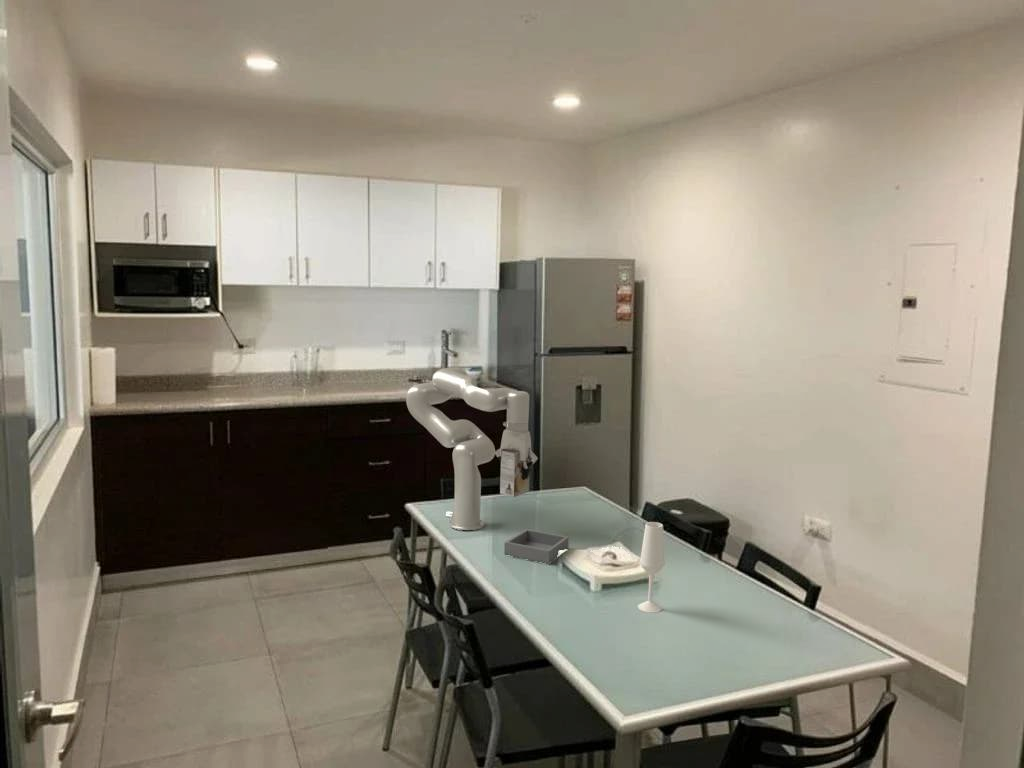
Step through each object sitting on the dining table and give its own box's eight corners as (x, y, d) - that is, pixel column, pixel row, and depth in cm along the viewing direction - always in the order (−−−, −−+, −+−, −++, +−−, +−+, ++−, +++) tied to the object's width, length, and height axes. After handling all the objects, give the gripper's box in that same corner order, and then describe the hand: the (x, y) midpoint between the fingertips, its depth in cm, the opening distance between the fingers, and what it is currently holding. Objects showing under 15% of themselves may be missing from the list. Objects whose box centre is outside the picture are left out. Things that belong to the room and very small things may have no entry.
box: (504, 555, 254) (504, 542, 253) (525, 541, 268) (526, 529, 267) (548, 564, 246) (549, 551, 246) (568, 549, 261) (568, 537, 260)
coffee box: (515, 488, 274) (516, 444, 272) (529, 492, 271) (531, 447, 268) (499, 493, 267) (500, 448, 265) (513, 497, 263) (515, 451, 261)
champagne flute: (644, 613, 212) (648, 529, 209) (633, 603, 218) (637, 521, 215) (666, 611, 214) (671, 527, 211) (655, 601, 220) (659, 520, 217)
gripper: (489, 425, 266) (488, 475, 269) (535, 432, 258) (533, 483, 261) (500, 422, 273) (498, 471, 275) (544, 428, 265) (542, 478, 268)
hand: (515, 476), depth 268 cm, fingers closed on coffee box, 7 cm apart
